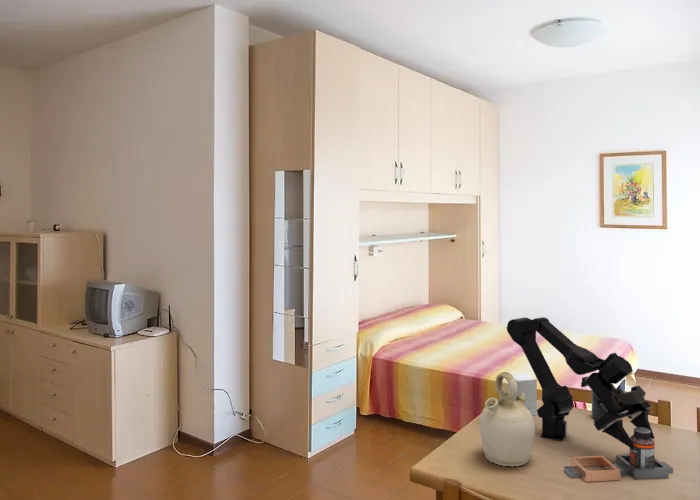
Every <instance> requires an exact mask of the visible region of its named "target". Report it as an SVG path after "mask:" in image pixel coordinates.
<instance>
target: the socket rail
mask: <svg viewBox="0 0 700 500" xmlns="http://www.w3.org/2000/svg"><path fill="white" fill-rule="evenodd" d="M629 462H630V453H627V454H626V453H625V454H616V455H615V463H612V462H611V461H610V460H608V459H607V458H606V457H605V456H604V455H589V456H588V455H587V456H586V455H585V456H570V457H569V465H568V466H563V472H564V473H565V474H566V475H567V476H568V477H569V478H570V479H573V478H574V479H575V478H581V479H582V480H583V481H584V482H585V483H588V482H589V483H591V482H592V483H594V482H608V481H609V482H611V481H621V476H630V477H631V478H632V479H633V480H646V479H647V480H649V479H650V480H651V479H668V478H669V477H670V473H671V474H672V473H674V468H673V467H672V466H671V465H670V464H669V463H667V462H665V461H660V460H658V459H657V458H655V457H654V468H638V469H636V468H635V467H633V466H632V465H631V464H630V463H629ZM585 467H586V468H587V467H602V468H603V469H604V470H603V469H601V470H587V469H586V468H585Z"/></svg>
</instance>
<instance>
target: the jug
mask: <svg viewBox="0 0 700 500" xmlns="http://www.w3.org/2000/svg"><path fill="white" fill-rule="evenodd" d="M512 375H513V374H511V372H510V373H509V372H507V371H503V372H499V373H498V374H497V375H496V377H495V382H494V383H495V384H494V385H495V390H496V392H497V394H498V395H499V396H500V397H499V398H498V399H497V398H496V397H489V398H488V399H487V400H485V402H484V408H483V409H482V411H481V414H480V415H479V422H478V423H479V424H478V426H479V427H478V428H479V433H480V438H481V442H482V448H483V449H482V450H483V453H484V457H485V459H486V460H487V461H488V460H489V463H492V462H493V463H495V464H494V465H496V464H498V465H497V466H500V465H502V466H501V467H505V466H509V467H508V468H514V466H516V467H521V465H522V466H524V465H526V464H527V463H528V462H529V460H530V457H531V453H532V450H533V445H534V441H535V435H536V423H535V420H534V417H533V416H532V415H531V413H530V411H529V410H528V409H527V408H526V407H525V406H524V405H523V403H524V402H525V401H526V400H525V393H523V392H521V393H520V394H519V395H518V396H516V395H517V392H518V387H517V383H516V380H515V379H514V377H513V376H512ZM504 379H505V380H506V382H507V384H508V383H509V386H510V394H508V393H507V392H506V391H505V389H504V386H503V380H504ZM515 397H516V399H515V400H514V398H515ZM493 463H492V464H493ZM510 466H511V467H510Z"/></svg>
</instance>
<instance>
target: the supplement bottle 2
mask: <svg viewBox="0 0 700 500" xmlns="http://www.w3.org/2000/svg"><path fill="white" fill-rule="evenodd" d="M650 436H651V431H650V430H649V429H647V428H643V427H636V426H635V427H634V429H633V434H632V435H631V436H629V437H630V439H631V440H632V442H633V444H634V447H633V448H630V447H629V454H630V462H629V463H630V464H631V465H632V466H633V467H635V468H636V469H638V468H654V458H655V444H656V443H655V440H654V439H653V438H651V437H650Z"/></svg>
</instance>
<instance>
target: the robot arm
mask: <svg viewBox="0 0 700 500" xmlns="http://www.w3.org/2000/svg"><path fill="white" fill-rule="evenodd" d="M506 331H507V333H508V335H509V337H510V338H511V339H512V341H513V342H514V343H516V345H519V347H520V348H521V350H522V351H523V353H524V355H525V357H526V359H527V361H528V363H529V365H530V368H531V369H532V371H533V373H534V375H535V377H536V379H537V383H539V385H540V386H539V387H541V401H542V403H543V404H542V405H541V406H540V407H539V408H537V416H538V417H539V418H540V419H541V421H542V423H541V424H542V425H541V430H542V431H541V434H540V437H541V438H543V439H544V438H545V439H551V440H557V441H564V438H566V436H567V434H568V432H567V431H568V428H567V427H568V421H567V420H566V417H567V416H570V412H571V411H573V410H572V409H573V407H574V405H575V404H574V400H573V398H574V397H573V395H572V394H571V393H570V389H569V387H568V386H567V385H563V386H562V385H560V384H559V383H558V381H557V379H556V378H555V376H554V374H553V372H552V370H551V368H550V366H549V364H548V362H547V360H546V359H545V357H544V356H545V355H543V353H542V350H541V349H540V347H539V345H538V342H537V333H538V334H539V335H540V336H541V337H543V339H544V340H546V341H547V343H549V344H550V345H551V346H552V347H553V348H555V350H557V351H558V352H559V353H560V354H561V355H562V356H563V357H564V360H565V362H566V365H567V366H568V367H569V368H570V369H571V371H572V372H573V373H575V375H579V376H582V375H587V374H589V375H588V376H584V377H582V378H581V382H580V387H581V388H586V387H589V389H590V391H591V392H593V393H594V394H595V395H596V397H597V398H598V400H599V401H598V402H597V404H598V405H603V407H604V408H605V409H606V411H607V412H604V413H603V414H602V415H600V416H599V417H598V418H596V419H594V420H593V426H594V428H595V429H596V430H597V431H598V432H599V431H601V433H605V434H607V435H608V436H610V437H612V438H614V439H616V440H618V441H619V442H621V443H622V444H624V445H625V446H627V447H629V449H630V448H633V447H634V444H633V442H632V440H631V439H630V437H631V436H629V434H628V433H627V431H626V429H625V428H624V424H623V423H624V422H623V419H624V418H628V419H630V421H629V422H630V423H631V424H633V426H635V428H636V427H643V428H647V429H649V430H650V431H651V436H650V437H651V438H653V440H654V439H655V435H654V433H653V429H652V427H651V423H650V421H649V413H650V412H651V408H652V405H651V404H650V403H649V402H648V400H646V399H645V396H646V391H644V389H643V388H642V387H641V386H640V385H636V386H632V387H630V391H626V392H624V390H623V389H621V388H618V389H617V388H616V386H615V385H617V384H619V383H620V382H621V381H622V380H623V379H625V378H626V377H627V376H629V375H630V374H631V373H632V372H633V366H632V364H631V363H630V361H628V360H626V359H625V358H624V357H622V356H620V355H618V354H617V353H616V352H613V353H609V355H608V356H607V357H606V358H605V359H603V358H600V357H598V356H597V355H596V354H595V353H593V352H592V351H591V350H589V349H587V348H585V347H583V346H580V345H578V344H575V343H574V342H573V341H572V340H571V339H570V338H568V337H567V336H566V335H565V334H564V333H563V332H562V331H561V330H560V329H558V328H557V327H556V326H555V325H554V324H552V323H551V322H550V320H549V319H548V317H544V316H542V317H535V318H532V319H531V318H528V317H526V316H525V317H519V318H514V319H510V320H509V321H508V322H507V326H506ZM596 371H597V372H596Z"/></svg>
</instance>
